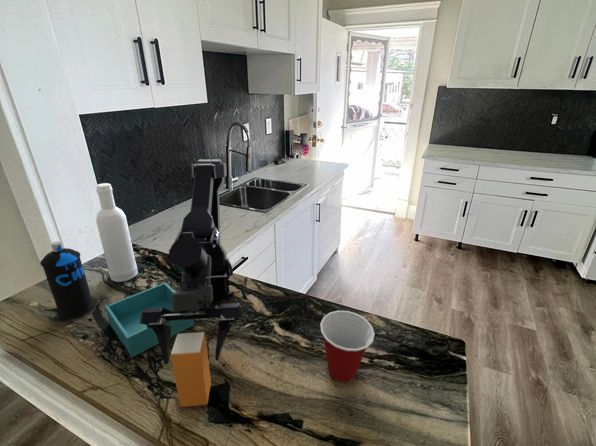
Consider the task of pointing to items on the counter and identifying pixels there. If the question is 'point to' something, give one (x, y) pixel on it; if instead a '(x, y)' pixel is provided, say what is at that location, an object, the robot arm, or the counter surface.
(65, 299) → the aerosol can
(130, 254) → the bottle
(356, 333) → the plastic cup
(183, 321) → the bin
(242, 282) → the counter surface
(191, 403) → the drink carton
